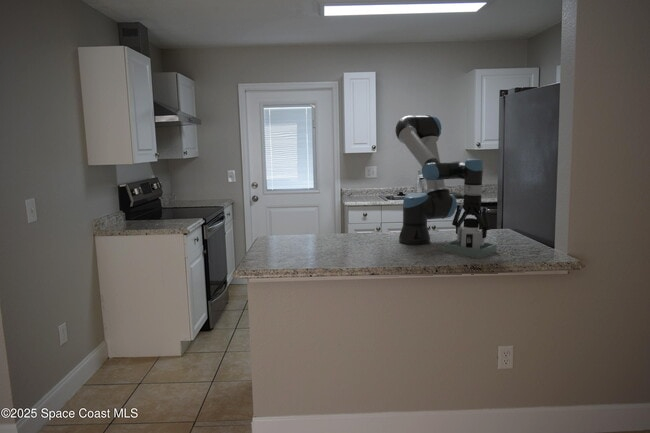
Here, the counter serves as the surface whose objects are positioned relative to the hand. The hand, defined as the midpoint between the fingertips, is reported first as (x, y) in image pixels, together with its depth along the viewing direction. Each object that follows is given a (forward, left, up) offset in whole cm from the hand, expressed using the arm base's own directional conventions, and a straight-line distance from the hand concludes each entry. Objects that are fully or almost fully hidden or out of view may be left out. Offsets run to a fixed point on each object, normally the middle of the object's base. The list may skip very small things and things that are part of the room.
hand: (470, 243), depth 224 cm
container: (0, 0, -2) cm, 2 cm away
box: (0, 0, -4) cm, 4 cm away
